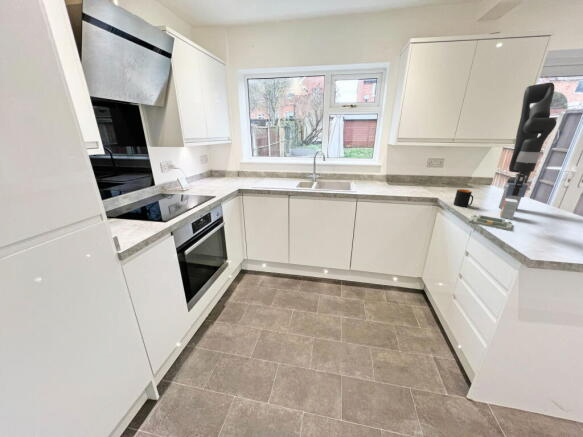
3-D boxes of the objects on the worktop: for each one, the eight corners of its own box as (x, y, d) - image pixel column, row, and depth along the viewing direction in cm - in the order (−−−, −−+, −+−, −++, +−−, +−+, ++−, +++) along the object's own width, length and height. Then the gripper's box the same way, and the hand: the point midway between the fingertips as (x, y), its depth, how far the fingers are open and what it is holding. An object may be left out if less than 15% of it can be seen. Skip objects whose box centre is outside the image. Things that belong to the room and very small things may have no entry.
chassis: (471, 216, 140) (472, 212, 139) (511, 224, 128) (513, 220, 127) (468, 222, 132) (469, 217, 131) (510, 230, 120) (512, 226, 119)
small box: (499, 214, 145) (505, 197, 141) (511, 216, 142) (517, 199, 138) (499, 217, 139) (505, 200, 136) (512, 219, 136) (518, 202, 132)
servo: (502, 193, 126) (506, 181, 123) (526, 196, 120) (531, 183, 117) (502, 194, 123) (506, 182, 120) (527, 197, 117) (532, 184, 114)
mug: (464, 208, 154) (469, 193, 151) (450, 203, 166) (454, 189, 162) (475, 208, 156) (480, 193, 152) (460, 203, 167) (464, 189, 163)
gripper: (516, 159, 122) (505, 191, 128) (516, 161, 112) (504, 195, 118) (535, 160, 118) (523, 193, 124) (538, 163, 108) (525, 198, 114)
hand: (514, 194), depth 121 cm, fingers closed on servo, 4 cm apart
